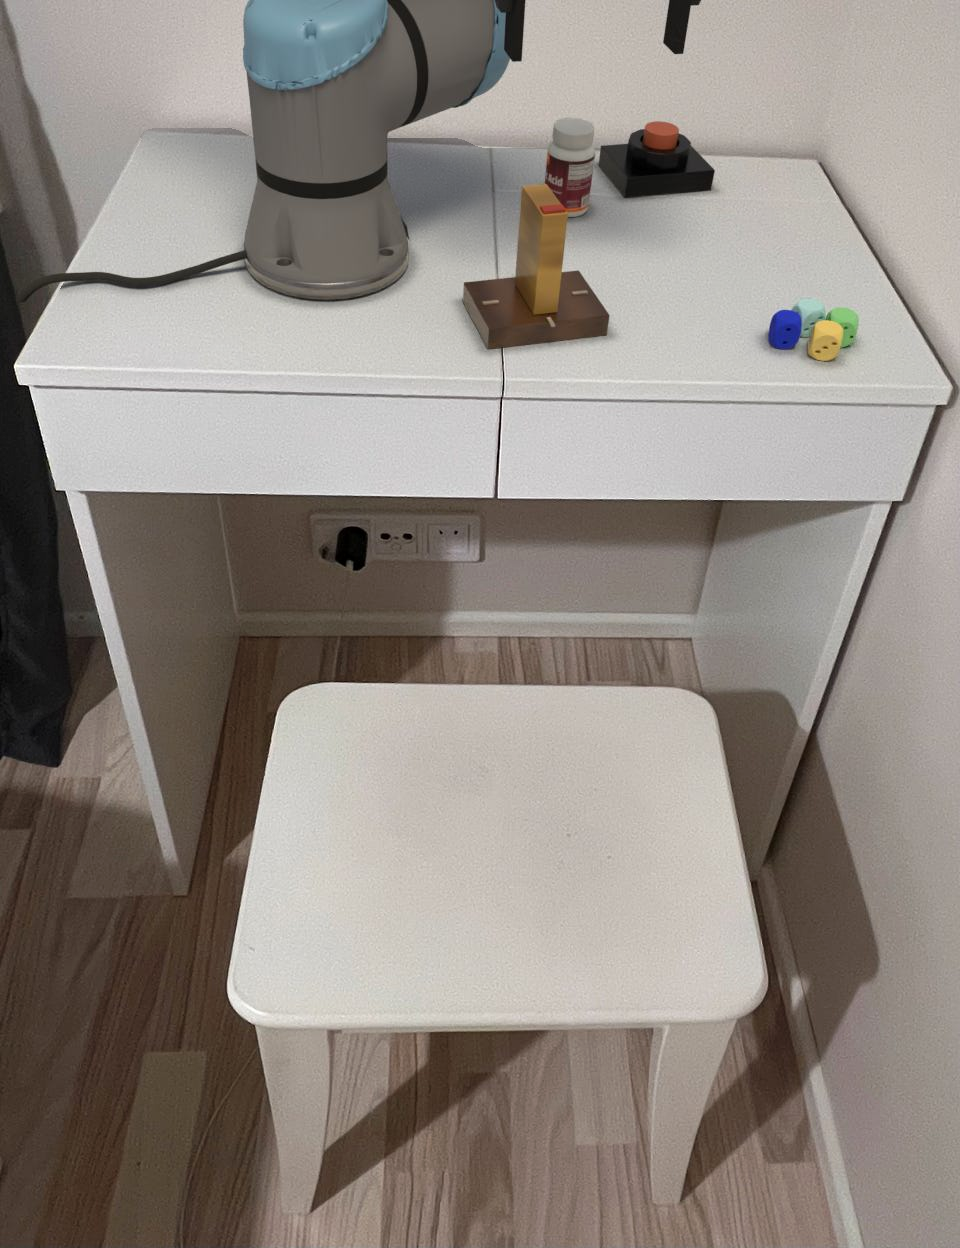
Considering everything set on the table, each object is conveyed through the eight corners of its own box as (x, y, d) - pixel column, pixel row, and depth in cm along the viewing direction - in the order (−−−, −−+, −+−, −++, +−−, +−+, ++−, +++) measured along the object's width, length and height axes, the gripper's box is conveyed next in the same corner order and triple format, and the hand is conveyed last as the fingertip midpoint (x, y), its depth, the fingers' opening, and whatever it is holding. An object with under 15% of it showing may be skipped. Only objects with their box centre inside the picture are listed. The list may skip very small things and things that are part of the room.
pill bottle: (534, 201, 116) (541, 119, 110) (574, 194, 118) (583, 113, 112) (555, 221, 113) (563, 138, 107) (596, 214, 115) (606, 131, 109)
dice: (755, 330, 100) (789, 369, 96) (761, 304, 98) (797, 343, 94) (833, 319, 102) (870, 357, 98) (841, 293, 100) (879, 331, 96)
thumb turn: (514, 283, 100) (522, 182, 93) (537, 281, 101) (546, 180, 94) (533, 315, 96) (542, 212, 90) (557, 312, 97) (568, 210, 90)
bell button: (650, 153, 117) (652, 136, 116) (637, 138, 120) (639, 122, 118) (681, 150, 118) (684, 133, 117) (668, 136, 120) (670, 120, 119)
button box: (624, 198, 118) (630, 160, 115) (598, 165, 123) (602, 128, 120) (711, 190, 120) (718, 153, 117) (681, 158, 125) (687, 122, 122)
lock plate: (490, 354, 96) (491, 332, 94) (460, 297, 102) (461, 275, 100) (610, 340, 98) (613, 318, 96) (573, 285, 104) (575, 264, 103)
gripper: (461, -280, 70) (453, 76, 85) (823, -274, 75) (755, 61, 90) (436, -297, 75) (433, 41, 90) (777, -291, 80) (720, 29, 95)
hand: (593, 52), depth 90 cm, fingers open, 13 cm apart
